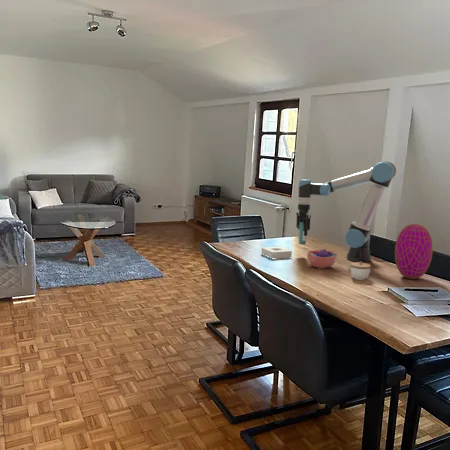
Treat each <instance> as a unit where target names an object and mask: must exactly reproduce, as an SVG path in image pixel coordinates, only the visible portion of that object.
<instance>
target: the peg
mask: <svg viewBox="0 0 450 450" xmlns="http://www.w3.org/2000/svg"><path fill="white" fill-rule="evenodd" d="M303 230H304V226H303V222H300V227H299V239H298V245H303V246H304V245H306V243H307V241H302V240H303Z"/></svg>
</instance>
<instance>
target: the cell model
mask: <svg viewBox="0 0 450 450" xmlns="http://www.w3.org/2000/svg"><path fill="white" fill-rule="evenodd" d="M337 254H338V253H335V252H333V251H332V250H331V251H329V250H326V249H324V248H323V249H319V250H318V249H317V250H315V249H314V250H310V251H309V250H308V251H307V255H306V258H307V260H308V262H309V263H310V265H311V266H312V267H315V268H319V269H327V268H330V267H333V266H334V265H335V263H336V262H337V261H336V259H337V258H338V255H337Z"/></svg>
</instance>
